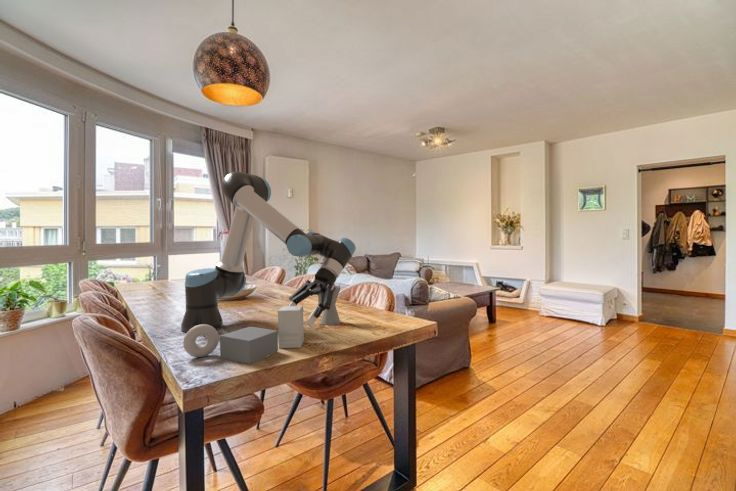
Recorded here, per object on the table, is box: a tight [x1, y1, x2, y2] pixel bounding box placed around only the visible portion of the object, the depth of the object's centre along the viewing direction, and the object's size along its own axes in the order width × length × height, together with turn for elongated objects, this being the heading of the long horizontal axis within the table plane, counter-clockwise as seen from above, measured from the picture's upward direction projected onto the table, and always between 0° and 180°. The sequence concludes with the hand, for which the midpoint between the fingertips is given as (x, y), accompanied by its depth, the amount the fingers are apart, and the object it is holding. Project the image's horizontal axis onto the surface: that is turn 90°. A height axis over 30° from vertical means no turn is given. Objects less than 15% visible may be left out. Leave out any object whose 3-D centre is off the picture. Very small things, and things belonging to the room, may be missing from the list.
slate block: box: [219, 326, 279, 365], centre depth 109 cm, size 12×12×7 cm
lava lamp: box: [319, 283, 341, 326], centre depth 149 cm, size 9×9×35 cm
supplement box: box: [277, 305, 305, 349], centre depth 119 cm, size 7×7×13 cm
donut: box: [182, 324, 220, 358], centre depth 108 cm, size 10×4×10 cm, turn 124°
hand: (295, 321), depth 119 cm, fingers open, 13 cm apart
